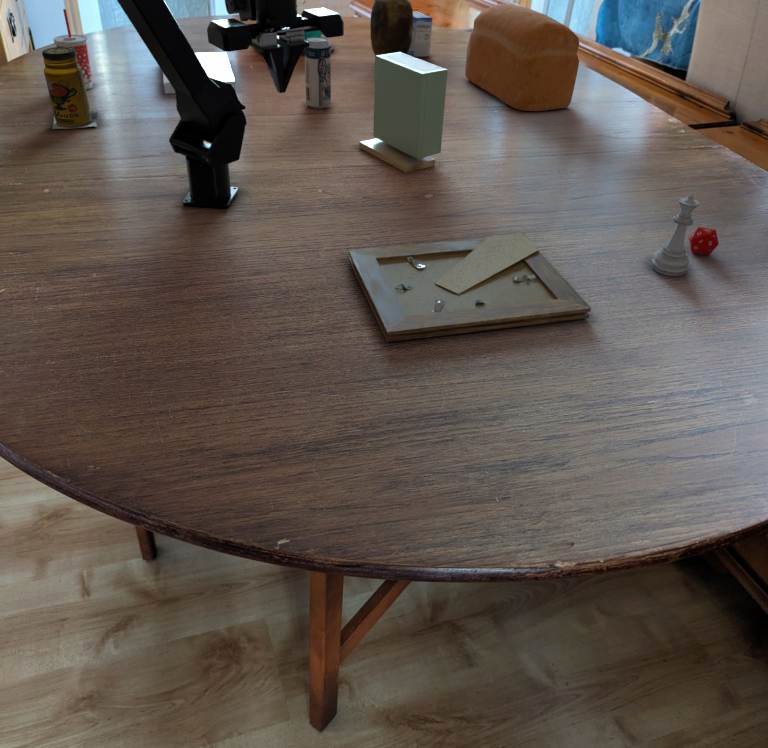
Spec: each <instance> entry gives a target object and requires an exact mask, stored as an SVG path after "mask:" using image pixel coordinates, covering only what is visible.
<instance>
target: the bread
mask: <svg viewBox="0 0 768 748" xmlns="http://www.w3.org/2000/svg"><path fill="white" fill-rule="evenodd" d="M579 45H580V39H579V37H578V36H577V34H576V33H575V32H574V31H573V30H572V29H571V28H570V27H568V26H567V25H565V24H564V23H562V22H560V21H558V20H556V19H555V18H552V17H551V16H549V15H547V14H544V13H542V12H539V11H536V10H533V9H531V8H528V7H524V6H522V5H517V4H513V3H501V4H494V5H491V6H490V7H487V8H486V9H483V10H481V11H480V13H479V14H478V15H477V16H476V17H475V18H474V20H473V27H472V30H471V32H470V35H469V39H468V42H467V47H466V54H465V55H466V56H465V69H464V76H465V78H466V79H468V80H469V81H470V82H471V83H473V84H475V85H476V86H478V87H480V89H482V90H484V91H486V92H487V93H489V94H490V95H492V96H494V97H495V98H497V99H498V100H499V101H501V102H502V103H504V104H506V105H508V106H509V107H511V108H512V109H513V108H514V109H516V110H519V111H525V112H545V111H553V110H559V109H566V108H569V106H570V104H571V103H572V100H573V95H574V90H575V85H576V81H577V76H578V71H579V66H580V59H579V55H578V50H579V47H580V46H579Z"/></svg>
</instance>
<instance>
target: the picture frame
mask: <svg viewBox="0 0 768 748" xmlns="http://www.w3.org/2000/svg"><path fill="white" fill-rule="evenodd" d="M348 262H349V264H350V266H351V268H352V270H353V273H354V275H355V277H356V278H357V281H358V283H359V285H360V287H361V290H362V292H363V294H364V297H365V298H366V301H367V303H368V304H369V306H370V309H371V311H372V313H373V315H374V317H375V320H376V321H377V323H378V325H379V328H380V330H381V332H382V334H383V336H384V338H385V340H386V342H387V343H391V342H400V341H409V340H416V339H424V338H432V337H442V336H450V335H456V334H457V335H458V334H459V335H460V334H466V333H474V332H483V331H491V330H501V329H508V328H516V327H524V326H533V325H541V324H549V323H550V324H551V323H559V322H567V321H574V320H575V321H577V320H583V319H589V318H590V312H591V311H592V307H591V306H590V305H589V303H588V302H586V301H585V300H584V298H583V297H582V296H581V295H580V294H579V293H578V292H577V290H576V289H575V288H573V287H572V285H571V284H570V283H569V282H568V281H567V280H566V278H564V276H563V275H562V274H561V273H560V272H559V271H558V270H557V269H556V268H555V267H554V265H552V263H551V262H550V261H548V259H547V258H546V257H545V255H543V254H542V252H541V251H540V248H539V247H538V246H537V245H536V244H535V242H534V241H533V240H532V239H530V237H529V236H528V235H527V234H526V233H525V232H520V233H519V232H518V233H507V234H496V235H489V236H488V237H482V238H471V239H458V240H448V241H437V242H436V241H435V242H426V243H425V242H423V243H414V244H403V245H393V246H391V245H390V246H381V247H369V248H358V249H348Z"/></svg>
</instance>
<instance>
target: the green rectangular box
mask: <svg viewBox="0 0 768 748" xmlns="http://www.w3.org/2000/svg"><path fill="white" fill-rule="evenodd" d="M447 80H448V69H447V68H444V67H441V66H440V65H436V64H434V63H432V62H428V61H426V60H423V59H421V58H419V57H413V56H411V55H409V54H404V53H402V52H396V53H389V54H382V55H376V56H375V55H374V88H373V89H374V94H373V95H374V96H373V132H372V133H373V134H372V136H373V138H374V139H375V138H377V139H379V140H381V141H383V142H385V143H387V144H389V145H391V146H393V147H395V148H397V149H399V150H400V151H402V152H404V153H406V154H408V155H410V156H412V157H414V158H416V159H418V158H423V157H427V156H429V157H430V156H435V155H438V154H441V153H442V144H443V143H442V141H443V129H444V116H445V104H446V95H447V94H446V93H447V92H446V91H447Z"/></svg>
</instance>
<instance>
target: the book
mask: <svg viewBox="0 0 768 748" xmlns="http://www.w3.org/2000/svg"><path fill="white" fill-rule="evenodd" d="M195 54H196V56H197V58H198V59H199V61H200V63H201V64H202V66H203V68H204V70H205V71H206V73H207V75H208V76H209V77H211V78H214V79H217V80H220V81H223V82H226V83H230V84H231V85H232V86H233V88H234V89H235V92H236V93H237V87H236V86H237V85H236V80H235V79H236V78H235V76H234V73H233V70H232V67H231V63H230V60H229V56H228V54H227V51H221V52H195ZM162 78H163V79H162V80H163V89H164V94H166V95H167V94H168V95H169V94H176V93H175V90H174V88H173V87H172V85H171V84H170V82H169V81H168V79H167V78H166V76H165V74H164V73H163V72H162Z"/></svg>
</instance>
